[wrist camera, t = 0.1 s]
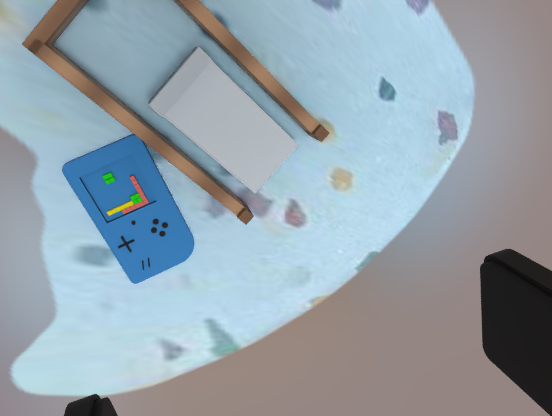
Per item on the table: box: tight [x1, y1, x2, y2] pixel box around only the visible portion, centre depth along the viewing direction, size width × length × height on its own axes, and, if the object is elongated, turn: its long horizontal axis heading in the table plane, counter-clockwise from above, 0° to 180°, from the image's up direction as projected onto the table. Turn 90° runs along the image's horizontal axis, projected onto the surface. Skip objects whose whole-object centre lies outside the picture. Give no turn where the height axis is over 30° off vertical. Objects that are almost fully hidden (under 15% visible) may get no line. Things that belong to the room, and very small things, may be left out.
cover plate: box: [148, 47, 299, 193], centre depth 43 cm, size 14×7×4 cm, turn 46°
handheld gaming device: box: [62, 134, 194, 284], centre depth 45 cm, size 8×1×15 cm
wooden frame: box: [22, 0, 329, 224], centre depth 41 cm, size 26×13×4 cm, turn 46°
